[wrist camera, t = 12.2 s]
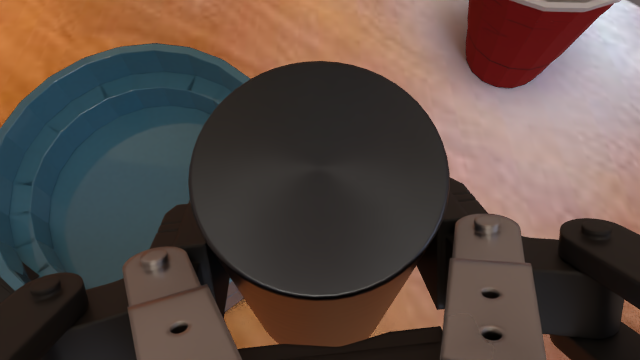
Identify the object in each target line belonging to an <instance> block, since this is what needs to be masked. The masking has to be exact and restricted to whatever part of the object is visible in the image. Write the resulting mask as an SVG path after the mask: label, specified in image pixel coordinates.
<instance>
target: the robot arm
mask: <svg viewBox="0 0 640 360" xmlns="http://www.w3.org/2000/svg"><path fill="white" fill-rule="evenodd" d="M449 180H450V189H449V196H448V203H447V207H446V211H445V214H444V218H443V221H442V223H441V225H440V227H439V229H438V232H437V234H436V236H435V237H434V239H433V240H432V242H431V244H430V245H429V247H428V248H427V250H426V251H425V253H424V254H423V256H422V257H421V259H420V261H419V262H418V264H417V267H418V269H419V271H420V274H421V276H422V278H423V280H424V282H425V284H426V287H427V289H428V291H429V293H430V295H431V297H432V300H433V302H434V304H435V306H436V308H437V310H438V309H445V313H444V323H443V331H442V329H441V327H440V326H438V327H429V328H420V329H412V330H403V331H394V332H388V333H385V334H381V335H378V336H375V337H371V338H368V339H365V340H361V341H358V342H355V343H351V344H348V345H344V346H339V347H329V346H313V345H297V344H278V345H269V346H260V347H251V348H242V349H237V347H236V345H235V343H234V341H233V339H232V336H231V334H230V332H229V330H228V328H227V326H226V323H225V321H224V313H225V307H226V300H227V293H228V287H229V280H230V277H229V275H228V274H227V272H226V271H225V269H224V268H223V266H222V265H221V263H220V262H219V260H218V259H217V258H216V256H215V255H214V253H213V252H212V250H211V249H210V247H209V246H208V244H207V242H206V241H205V239H204V237H203V235H202V234H201V232H200V230H199V228H198V225H197V223H196V220H195V218H194V215H193V211H192V207H191V203H190V200H189V202H188V204H180V205H176V206H175V207H173V208H172V209H171V210H170V211H168V212H167V213H166V214H165V215H164V218H163V220H162V222H161V225H160V227H159V229H158V233H156V235H155V238H154V240H153V242H152V244H151V247H150V249H149V250H145V251H143V252H140V253H138V254H136V255H134V256H133V257H131V258H130V259H129V260H127V261H126V262H125V264H124V265H123V268H122V272H123V277H124V278H122V279H120V280H118V281H115V282H112V283H109V284H105V285H102V286H98V287H94V288H91V289H87V290H86V289H85V286H84V282H83V279H82V277H81V276H79V275H77V274H75V273H68V272H65V273H55V274H50V275H46V276H42V277H40V278H37V279H34V280H32V281H30V282H28V283H26V284H24V285H23V286H21V287H20V288H19V289H17V290H16V291H15V292H14V293H12V294H11V295H10V296H9V297H8V298H6V299H5V300H4V301H3V302H1V303H0V360H546V354H545V348H544V341H543V335H542V334H550V338H551V341H552V342H553V344H554V345H555V346H556V347H557V348H558V349H559V350H561V351H562V352H563V353H564V354H565V355H566V356H567V357H569V358H570V359H571V360H640V334H638V333H637V332H635V331H634V330H632V329H631V328H630V327H628V326H627V325H625V324H624V323H622V322H621V316H622V310H623V303H624V299H625V300H626V301H628V302H629V303H631V304H632V305H634V306H635V307H637V308H639V309H640V235H639V234H637V233H635V232H633V231H631V230H629V229H627V228H625V227H623V226H621V225H618V224H616V223H613V222H609V221H605V220H600V219H589V218H584V219H575V220H570V221H567V222H565V223H564V224H563V225H562V226H561V228H560V236H559V240H555V239H538V238H528V237H523V236H521V231H520V227H519V225H518V224H517V223H516V222H515V221H513V220H511V219H509V218H507V217H504V216H500V215H495V214H488V213H487V212H486V210H485V209H484V208H483V207H482V206H481V205H480V203H479V202H478V201H477V200H476V199H475V197H474V196H473V195H472V194H470V192H469V190H468V189H467V188H466V187H465V186H464V184H462V183H460V182H458V181H456V180H454V179H452V178H450V177H449Z"/></svg>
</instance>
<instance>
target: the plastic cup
mask: <svg viewBox="0 0 640 360" xmlns="http://www.w3.org/2000/svg"><path fill="white" fill-rule="evenodd" d="M620 1H621V0H469V7H468V29H467V36H466V60H467V62H468V64H469V66H470V68H471V70H472V72H473V73H474V74H475V75H476V76H478V77H479V78H480V79H481V80H482V81H484V82H486V83H488V84H491V85H493V86H496V87H504V88H514V87H517V86H521V85H524V84H526V83H527V82H530V81H531V80H532V79H533V78H535V77H536V76H537V75H539V74H540V73H541V72H542V71H543V70H544V69H545V68H546V67H547V66H548V65H549V64H550V63H551V62H552V61H554V60H555V59H556V58H557V57H559V56H560V55H561V54H562V53H563V52H564V51H565V50H566V49H567V48H568V47H569V46H570V45H571V44H572V43H573V42H574V41H575V40H576V39H577V38H578V37H579V36H580V35H581V34H582V33H583V32H584V31H585V30H586V29H587V28H588V27H589V26H590V25H591V24H592V23H593V22H594V21H595V20H596V19H597V18H598V17H599V16H600V15H601V14H603V13H604V12H605V11H606V10H608V9H609V8H610V7H611V6H612V5H613V4H614V3H616V2H620Z"/></svg>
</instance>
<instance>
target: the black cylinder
mask: <svg viewBox="0 0 640 360" xmlns="http://www.w3.org/2000/svg"><path fill="white" fill-rule="evenodd" d="M188 185H189V197H190V203H191V207H192V211H193V215H194V218H195V220H196V223H197V225H198V228H199V230H200V232H201V234H202V235H203V237H204V239H205V241H206V242H207V244H208V246H209V247H210V249H211V250H212V252H213V253H214V255H215V256H216V258H217V259H218V260H219V262H220V263H221V265H222V266H223V268H224V269H225V271H226V272H227V274H228V275H229V277H230V278H231V280H232V281H233V283H234V284H235V286H236V287H237V289H238V290H239V291H240V293H241V294H242V296H243V297H244V299H245V300H246V302H247V303H248V305H249V306H250V308H251V309H252V311H253V312H254V314H255V315H256V317H257V318H258V320H259V321H260V323H261V324H262V325H263V327H264V328H265V330H266V331H267V332H268V334H269V335H270V336H271V337H272V338H273V339H274V340H275V341H276V342H277V343H278V344H297V345H313V346H329V347H339V346H344V345H348V344H351V343H355V342H358V341H361V340H365V339H368V337H369V336H370V335H371V334H372V333H373V332H374V330H375V329H376V327H377V325H378V324H379V322H380V321H381V319H382V318H383V316H384V315H385V313H386V312H387V310H388V308H389V307H390V305H391V304H392V302H393V301H394V299H395V298H396V296H397V295H398V293H399V291H400V290H401V288H402V287H403V285H404V284H405V282H406V281H407V279H408V278H409V276H410V274H411V273H412V271H413V270H414V268H415V267H416V265H417V264H418V262H419V261H420V259H421V257H422V256H423V254H424V253H425V251H426V250H427V248H428V247H429V245H430V244H431V242H432V240H433V239H434V237H435V236H436V234H437V232H438V229H439V227H440V225H441V223H442V221H443V218H444V214H445V211H446V207H447V203H448V196H449V189H450V180H449V167H448V160H447V155H446V152H445V149H444V145H443V142H442V140H441V138H440V136H439V133H438V131H437V129H436V127H435V125H434V124H433V122H432V121H431V119H430V117H429V116H428V114H427V113H426V112H425V111H424V109H423V108H422V107H421V106H420V105H419V103H418V102H417V101H416V100H415V99H414V98H412V97H411V96H410V95H409V94H408V93H407V92H406V91H405V90H403V89H402V88H400V87H399V86H398V85H396V84H395V83H393V82H392V81H390V80H388V79H386V78H385V77H383V76H381V75H379V74H376V73H374V72H372V71H369V70H367V69H364V68H360V67H357V66H354V65H349V64H344V63H338V62H326V61H313V62H301V63H294V64H289V65H285V66H281V67H278V68H274V69H272V70H269V71H267V72H264V73H262V74H260V75H258V76H256V77H254V78H252V79H250V80H248V81H247V82H245V83H244V84H242V85H241V86H239V87H238V88H236V89H235V90H234V91H233V92H232V93H230V94H229V95H228V96H227V97H226V98H225V99H224V100H223V101H222V102H221V103H220V104H219V105H218V106H217V107H216V108H215V110H214V111H213V112H212V114H211V115H210V117H209V118H208V119H207V121H206V122H205V124H204V126H203V128H202V130H201V132H200V134H199V136H198V138H197V141H196V143H195V146H194V149H193V152H192V156H191V161H190V166H189V180H188Z"/></svg>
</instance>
